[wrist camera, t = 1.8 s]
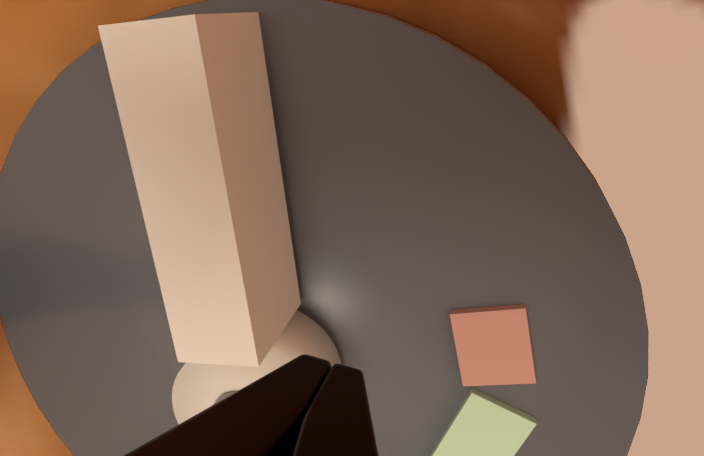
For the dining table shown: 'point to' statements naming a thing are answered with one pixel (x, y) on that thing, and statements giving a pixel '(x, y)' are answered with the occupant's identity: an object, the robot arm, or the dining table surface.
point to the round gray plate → (345, 249)
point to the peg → (211, 199)
